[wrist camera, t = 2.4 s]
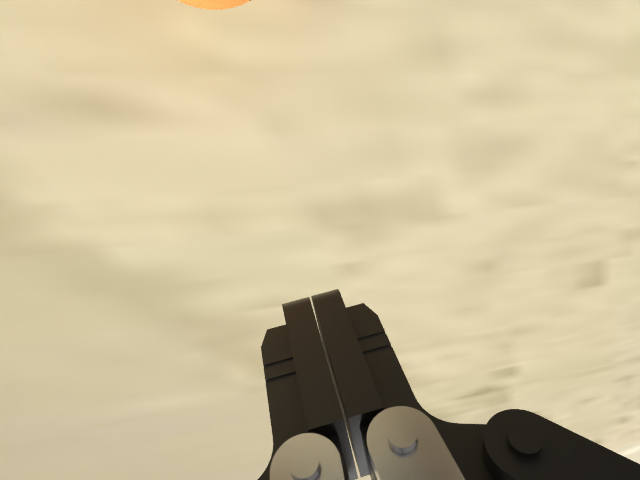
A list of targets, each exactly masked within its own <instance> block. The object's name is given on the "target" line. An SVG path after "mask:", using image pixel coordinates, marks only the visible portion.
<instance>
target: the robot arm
mask: <svg viewBox="0 0 640 480" xmlns="http://www.w3.org/2000/svg"><path fill="white" fill-rule="evenodd" d="M311 297H312V301H313V306H314V310H315V314H316V318H317V322H318V326H319V329H318V326H317V322H316V319H315V315H314V312H313V308H312V305H311V302H310V298H309V297H307V298H304V299H300V300H296V301H293V302H289V303H285V304H282V306H283V311H284V316H285V321H286V325H282V326H279V327H275V328H272V329H268V330H267V332H266V334H265V337H264V340H263V343H262V346H261V351H262V358H263V365H264V373H265V380H266V388H267V396H268V404H269V411H270V419H271V426H272V434H273V452H272V456H271V459H270V462H269V464H268V466H267V468H266V470H265V471H264V473H263V474H262V475H261V477H260V478H259V479H258V480H354V479H357V478H358V476H357V472H356V467H355V463H354V459H353V454H352V450H351V446H350V441H351V445H352V448H353V452H354V455H355V459H356V462H357V465H358V469H359V472H360V476H361V477H363V476H366V475H370V476H371V479H372V480H640V464H638V463H636V462H634V461H632V460H630V459H628V458H626V457H624V456H622V455H619V454H617V453H615V452H613V451H611V450H609V449H607V448H605V447H603V446H601V445H599V444H597V443H595V442H593V441H591V440H589V439H587V438H584V437H582V436H580V435H578V434H576V433H574V432H572V431H570V430H568V429H566V428H564V427H562V426H560V425H558V424H556V423H554V422H552V421H549V420H547V419H545V418H543V417H541V416H539V415H537V414H535V413H532V412H529V411H526V410H520V409H509V410H504V411H501V412H499V413H497V414H495V415H494V416H493V417H492V418H491V419H490V420H489V421H488V423H487V425H486V424H458V423H450V422H446V421H443V420H440V419H437V418H436V417H434V416H432V415H430V414H429V413H428V412H426V411H425V410H424V409H423V408H422V407H421V406H420V404H419V403H418V402H417V400H416V398H415V396H414V394H413V392H412V390H411V387H410V385H409V383H408V381H407V379H406V376H405V374H404V372H403V370H402V368H401V365H400V363H399V361H398V359H397V357H396V355H395V352H394V350H393V348H392V347H391V344H390V341H389V339H388V337H387V335H386V334H385V331H384V328H383V326H382V324H381V322H380V320H379V317H378V315H377V314H376V313H374V312H373V311H372V310H371V309H370V308H368V307H367V306H366V305H365V304H364V303H362V304H358V305H355V306H351V307H347V308H346V307H345V305H344V302H343V299H342V297H341V294H340V292H339V290H338V289H336V290H333V291H329V292H325V293H322V294H318V295H314V296H311ZM319 331H320V333H319ZM320 335H321V336H320ZM321 339H322V340H321ZM346 427H347V429H346ZM347 431H348V433H347ZM348 434H349V437H348ZM349 438H350V441H349Z"/></svg>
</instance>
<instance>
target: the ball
mask: <svg viewBox="0 0 640 480" xmlns="http://www.w3.org/2000/svg"><path fill="white" fill-rule="evenodd" d="M178 1H180V2H183V3H185V4H187V5H191V6H194V7H197V8H203V9H227V8H232V7H236V6H239V5H242V4H244V3H246V2H248V1H251V0H178Z"/></svg>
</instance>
